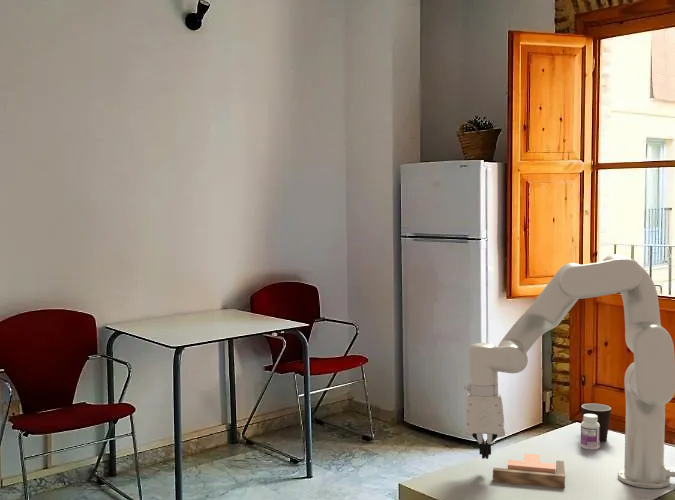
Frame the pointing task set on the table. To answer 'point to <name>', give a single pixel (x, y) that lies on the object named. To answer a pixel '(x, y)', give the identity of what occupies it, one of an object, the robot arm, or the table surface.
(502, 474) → the walnut fence
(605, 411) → the coffee mug
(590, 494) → the table surface
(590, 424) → the pill bottle
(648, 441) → the robot arm
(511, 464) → the t block
